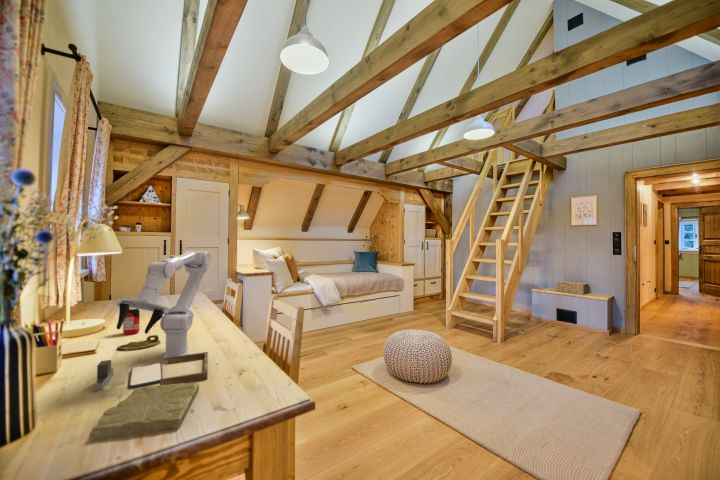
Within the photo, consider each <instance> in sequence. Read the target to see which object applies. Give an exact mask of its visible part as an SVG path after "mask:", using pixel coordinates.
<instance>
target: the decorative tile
mask: <svg viewBox="0 0 720 480" xmlns="http://www.w3.org/2000/svg"><path fill="white" fill-rule="evenodd" d="M199 390H200V384H199V383H197V382H186V383H179V384H168V385H160V384H159V385H157V386H156V385H149V386H144V387H139V388H134V389H133V390H132V392H131V393H130V394H129V395H128V396H127V398H125V399H123V400H121V401H119V402H118V403H117V404H116V405H115V406H111V407H110V408H108V409H106V410H104V412H103V414H102V415H101V417H100V418H99V419H98V420H97V424H96V425H95V426H94V427H93V428H92V433H91V439H90V441H95V440H96V441H97V440H102V439H113V438H119V437H128V436H134V435H142V434H150V433H157V432H164V431H172V430H178V429H180V428H181V426H182V424H183V423H184V420H185V418H186V416H187V415H188V413H189V411H190V409H191V407H192V405H193V402H194V401H195V399H196V397H197V394H198V393H199Z"/></svg>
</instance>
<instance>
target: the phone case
mask: <svg viewBox="0 0 720 480" xmlns="http://www.w3.org/2000/svg"><path fill="white" fill-rule="evenodd" d="M162 366H163V365H162V363H161V362H157V363H151V364H146V365H145V364H144V365H139V366H134V367H133V368H131V369H130V373H129V384H128V389H130V390H135V389H140V388H143V387H148V386H155V385H158V384H160V379H163V378H164V377H163V368H162Z"/></svg>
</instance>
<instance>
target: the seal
mask: <svg viewBox="0 0 720 480" xmlns="http://www.w3.org/2000/svg"><path fill="white" fill-rule="evenodd" d="M159 337H160V336H159V335H158V334H154V335H148V336H147V337H146V339H145V340H141V341H131V342H128V343H126V344H122V345H118V346H117V347H116V350H117V351H121V352H132V351H140V350H146V349H150V348H153V347H156V346H159V345H161V340H160V339H159ZM153 338H154V339H153Z"/></svg>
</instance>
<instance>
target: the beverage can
mask: <svg viewBox="0 0 720 480" xmlns="http://www.w3.org/2000/svg"><path fill="white" fill-rule="evenodd" d="M129 309H130V311H129V313H128V314H127V316H126V318H125V319H124V321H123V324H122V330H123V331H122V333H123V334H124V335H125V336H131V335H136V334H138V333H139V332H140V324H141V323H140V321H141V320H140V315H141V314H140V310H139V309H137V308H132V307H129Z"/></svg>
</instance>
